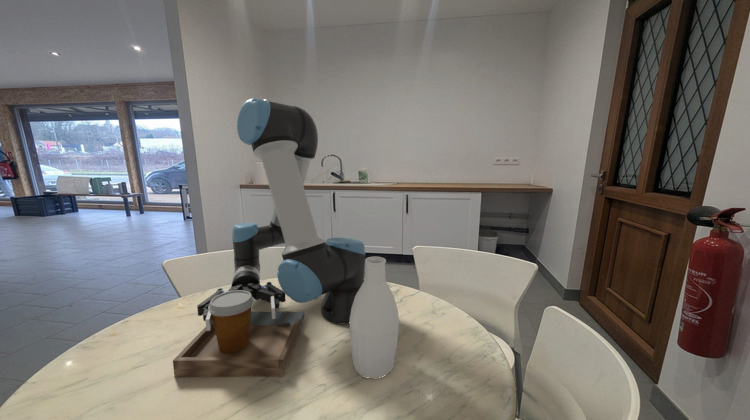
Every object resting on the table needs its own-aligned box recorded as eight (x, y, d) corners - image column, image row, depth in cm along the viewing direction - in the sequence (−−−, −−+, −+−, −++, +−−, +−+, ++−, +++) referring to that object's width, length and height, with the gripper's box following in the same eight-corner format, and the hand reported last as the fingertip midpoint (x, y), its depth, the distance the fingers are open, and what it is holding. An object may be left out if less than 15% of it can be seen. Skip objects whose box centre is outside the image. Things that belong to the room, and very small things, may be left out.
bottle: (407, 370, 62) (412, 262, 58) (365, 392, 56) (367, 273, 52) (379, 343, 71) (381, 248, 67) (340, 360, 65) (340, 256, 61)
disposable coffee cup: (235, 362, 61) (232, 310, 59) (201, 353, 63) (197, 304, 61) (264, 337, 70) (262, 292, 68) (232, 330, 72) (230, 287, 70)
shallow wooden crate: (306, 317, 82) (305, 305, 82) (283, 376, 60) (283, 359, 59) (227, 317, 82) (226, 305, 81) (174, 377, 59) (172, 360, 58)
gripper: (290, 287, 88) (298, 323, 69) (198, 301, 79) (178, 346, 59) (289, 265, 87) (297, 295, 67) (196, 276, 77) (175, 314, 58)
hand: (242, 319), depth 63 cm, fingers open, 13 cm apart
